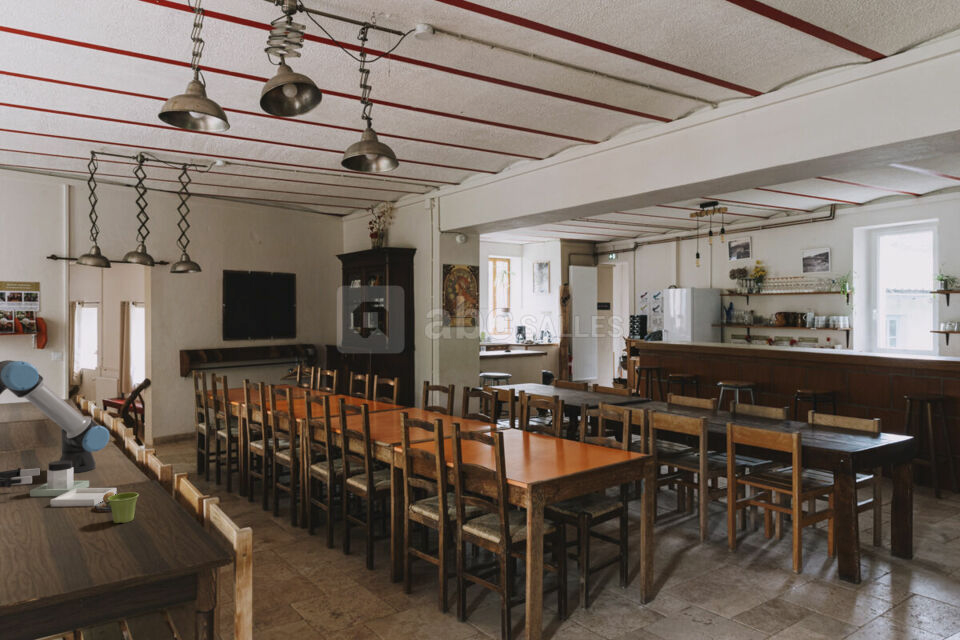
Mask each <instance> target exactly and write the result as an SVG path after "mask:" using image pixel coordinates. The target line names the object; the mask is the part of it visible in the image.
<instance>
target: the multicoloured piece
mask: <svg viewBox="0 0 960 640" xmlns="http://www.w3.org/2000/svg"><path fill="white" fill-rule="evenodd" d="M105 492H106V491H105ZM113 495H114V493H113V492H109V493H106V494H105V495H104V497H103V502H101V503H98V504H96V505H95V506H94V511H95V512H98V513H112V509H111V504H110V502H109V500H108V497H110V496H113Z"/></svg>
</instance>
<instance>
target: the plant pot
mask: <svg viewBox="0 0 960 640" xmlns="http://www.w3.org/2000/svg"><path fill="white" fill-rule="evenodd" d="M139 495H140V494H139V493H138V492H121V493H117V494H116V495H113V496H110V497H108V500H109V502H110V504H111V509H112V512H111V515H112V520H113V523H114V524H119V523H124V524H125V523H129V522H132V521H133V520H134V519H135V512H136V503H137V500H138V497H139Z"/></svg>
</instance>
